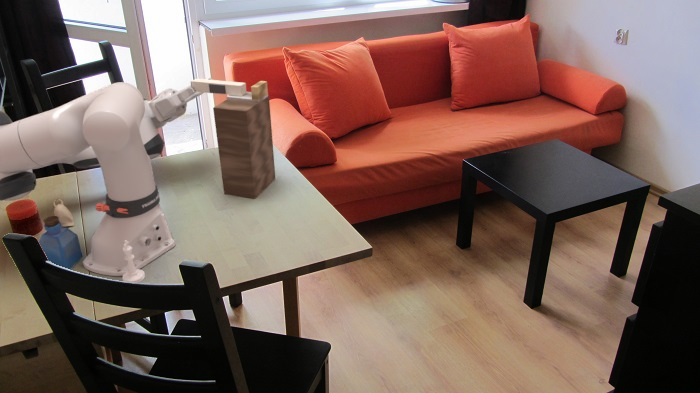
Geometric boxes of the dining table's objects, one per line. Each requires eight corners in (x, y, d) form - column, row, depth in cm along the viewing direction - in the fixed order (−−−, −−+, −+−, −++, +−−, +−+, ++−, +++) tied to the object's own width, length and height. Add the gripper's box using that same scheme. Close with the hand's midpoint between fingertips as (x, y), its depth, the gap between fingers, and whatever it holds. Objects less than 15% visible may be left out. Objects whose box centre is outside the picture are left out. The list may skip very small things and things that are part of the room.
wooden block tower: (254, 198, 163) (244, 95, 149) (224, 194, 166) (211, 92, 151) (275, 178, 175) (267, 80, 160) (246, 174, 178) (236, 78, 163)
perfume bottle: (59, 254, 138) (46, 211, 133) (83, 256, 138) (71, 213, 132) (44, 269, 133) (30, 225, 127) (68, 271, 132) (55, 227, 127)
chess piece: (148, 271, 132) (140, 235, 127) (140, 284, 127) (131, 247, 123) (128, 271, 132) (119, 234, 127) (118, 283, 128) (109, 246, 123)
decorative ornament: (57, 230, 149) (52, 212, 146) (56, 216, 155) (51, 199, 153) (74, 226, 150) (69, 209, 148) (72, 213, 157) (67, 196, 154)
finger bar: (241, 96, 159) (239, 86, 158) (190, 91, 164) (189, 81, 162) (246, 93, 162) (245, 82, 161) (196, 88, 167) (195, 78, 165)
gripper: (195, 102, 180) (226, 84, 173) (157, 124, 163) (189, 105, 156) (184, 85, 178) (215, 66, 172) (144, 105, 161) (176, 85, 155)
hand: (203, 85), depth 164 cm, fingers open, 8 cm apart
